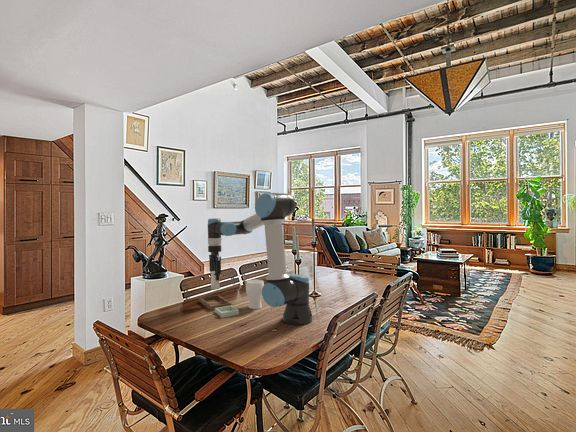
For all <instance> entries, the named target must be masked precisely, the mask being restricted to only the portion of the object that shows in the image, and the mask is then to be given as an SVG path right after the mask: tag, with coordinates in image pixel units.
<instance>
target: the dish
mask: <svg viewBox="0 0 576 432" xmlns="http://www.w3.org/2000/svg"><path fill="white" fill-rule="evenodd" d="M214 312H215V313H216V314H217V316H218V317H219V318H221V319H223V318H228V317H234V316H239V315H240V310H239V309H238V308H237V307H235V306H234V305H232V304H231V306H225V307H219V308H215V310H214Z"/></svg>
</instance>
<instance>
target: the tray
mask: <svg viewBox="0 0 576 432" xmlns="http://www.w3.org/2000/svg"><path fill="white" fill-rule="evenodd" d="M198 301H199V303H200V304H202V305H203V306H204V307H205V308H207V309H208V310H209V311H211V312H213V311H214V312H215V308H219V307H225V306H231V305H232V302H230V301H229V300H227V299H226V298H224V297H222V296H221V295H219V294H214V295H208V296H202V297H201V296H200V297H199V298H198Z"/></svg>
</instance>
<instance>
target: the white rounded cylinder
mask: <svg viewBox="0 0 576 432" xmlns="http://www.w3.org/2000/svg"><path fill="white" fill-rule="evenodd" d="M214 274H215V271H210V289H211V290H213V291H216V290H220V287H221V286H220V285H221V283H220V279H219V286H215V284H214Z"/></svg>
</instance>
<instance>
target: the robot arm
mask: <svg viewBox="0 0 576 432" xmlns="http://www.w3.org/2000/svg"><path fill="white" fill-rule="evenodd" d="M295 210H296V201H295V198H294V197H293V196H291V195H290V194H288V193H278V192H266V193H262V194H260V195H259V196H258V197H257V199H256V201H255V203H254V211H255V214H253V215H251V216H249V217H247V218H245V219H243V220H240V221H222V220H221V218H208V219H207V245H208V247H207V251H208V253H210V254H209V255H208V257H209V258H208V259H209V272H211V271H215V274H214V284H215V286H219V280H220V275H221V274H222V257H221V256H220V253H221V252H222V245H221V244H222V240H223V239H222V236H226V237H231V236H235V235H236V236H237V235H247V234H251V233H252V232H253V231H254V230H256V229H259V228H260V227H263V226H264V232H265V233H264V234H265V246H266V259H267V269H268V275H267V276H266V277H265V283H264V286H263V288H262V299H263V300H264V302H265V303H266V304H267V305H268V306H269V307H271V308H278V307H283V306H284V305H285V307H284V310H283V314H282V321H283V322H284V323H286V324H289V325H294V326H295V325H297V326H298V325H301V326H302V325H306V324H309V323H311V322H312V321H313V314H312V311H311V307H310V279H309V277H308V276H307V275H303V274H298V273H297V274H296V273H287V265H286V254H285V253H286V252H285V239H284V230H283V229H284V228H283V223H284V222H285V220H286V217H289V216H291V215H292V214H293V213H294V212H295Z"/></svg>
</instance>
